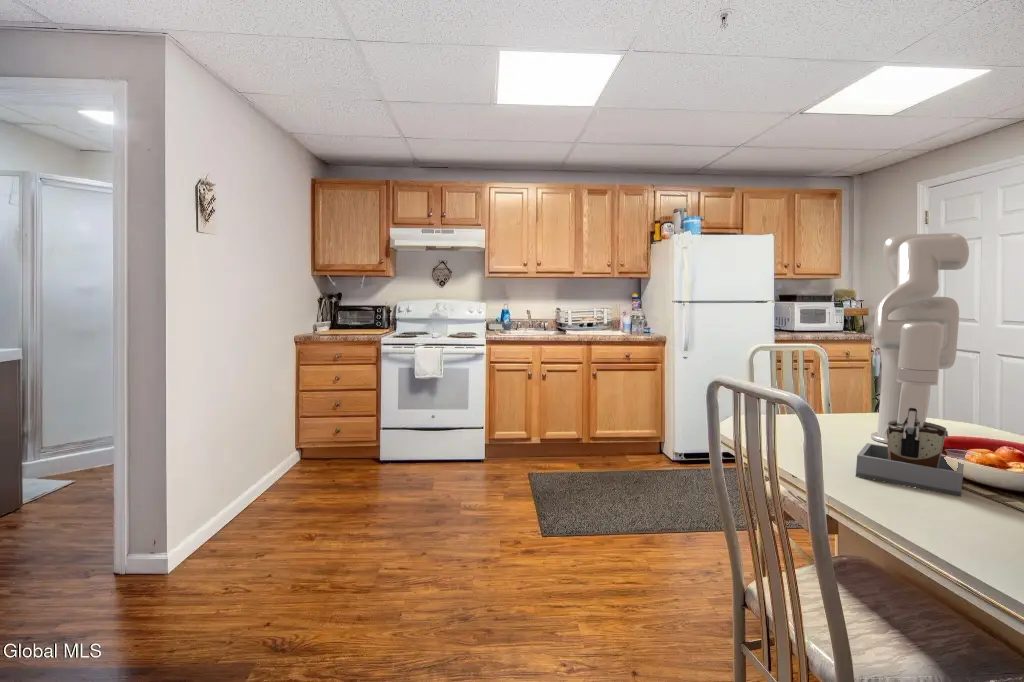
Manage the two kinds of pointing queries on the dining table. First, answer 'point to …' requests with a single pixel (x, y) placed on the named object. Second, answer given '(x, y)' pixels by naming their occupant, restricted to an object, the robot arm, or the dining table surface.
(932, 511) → the dining table surface
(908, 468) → the bin
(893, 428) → the food container
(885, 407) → the robot arm
